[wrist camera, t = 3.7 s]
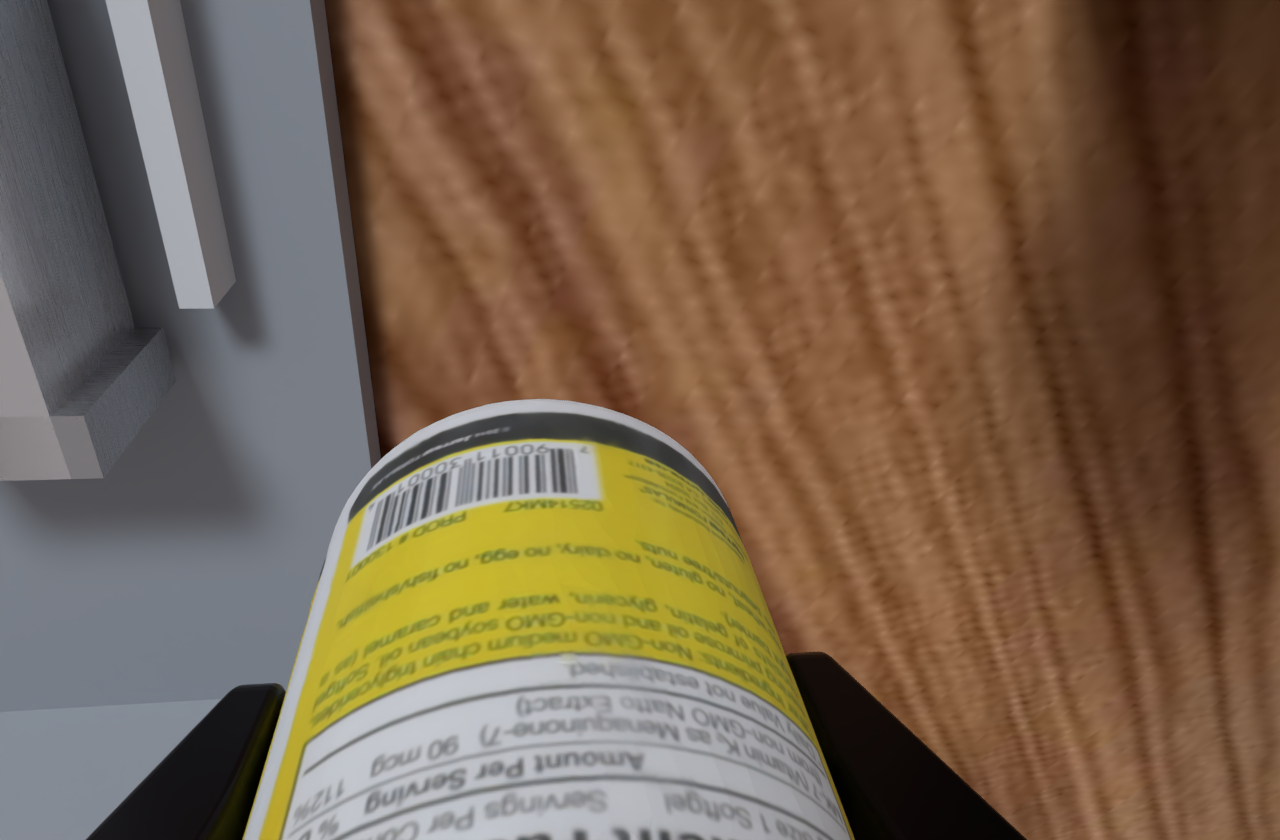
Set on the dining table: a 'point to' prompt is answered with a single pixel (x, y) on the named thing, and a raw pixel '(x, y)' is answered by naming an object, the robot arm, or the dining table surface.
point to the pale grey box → (61, 280)
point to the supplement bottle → (541, 651)
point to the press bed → (190, 403)
